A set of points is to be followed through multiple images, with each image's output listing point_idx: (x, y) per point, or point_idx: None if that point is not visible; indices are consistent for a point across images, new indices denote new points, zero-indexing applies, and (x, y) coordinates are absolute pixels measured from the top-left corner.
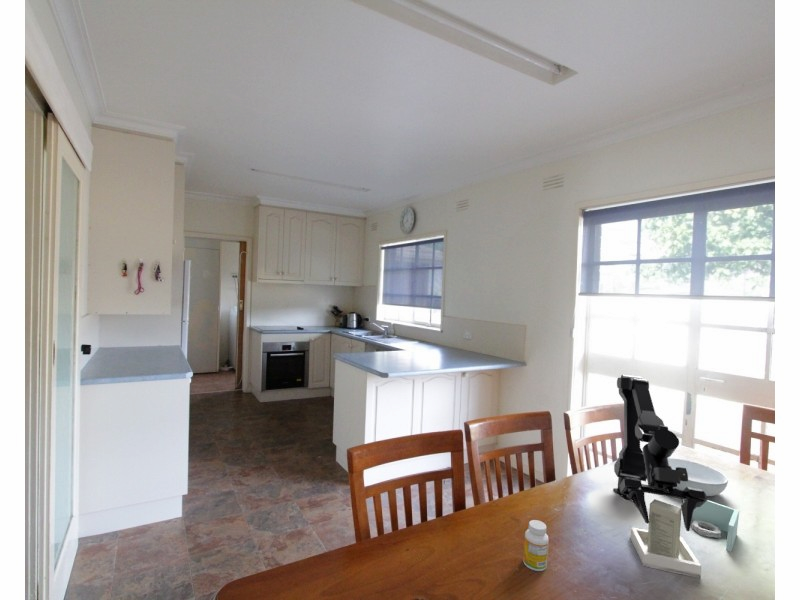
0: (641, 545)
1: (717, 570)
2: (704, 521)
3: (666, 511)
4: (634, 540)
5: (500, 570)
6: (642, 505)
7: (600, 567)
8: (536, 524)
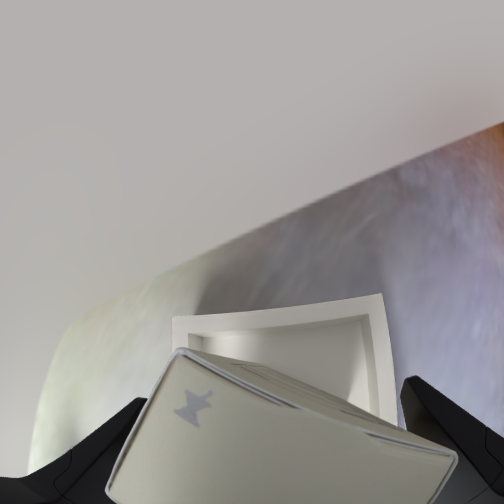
0: (387, 359)
1: (125, 391)
2: None
3: (294, 404)
4: None
5: None
6: (488, 438)
7: (466, 231)
8: None
